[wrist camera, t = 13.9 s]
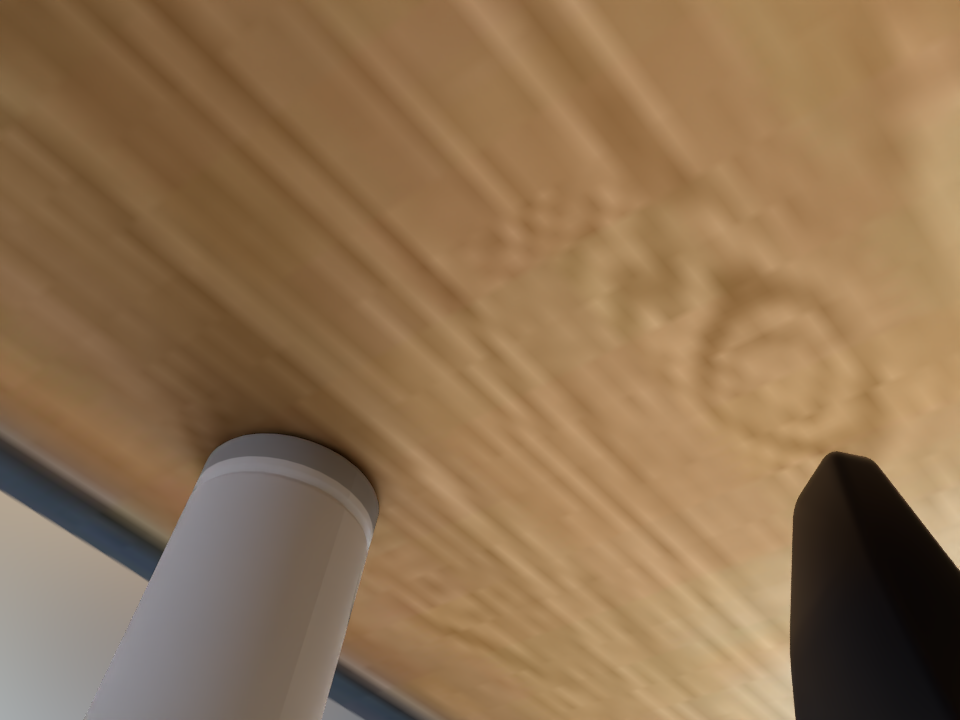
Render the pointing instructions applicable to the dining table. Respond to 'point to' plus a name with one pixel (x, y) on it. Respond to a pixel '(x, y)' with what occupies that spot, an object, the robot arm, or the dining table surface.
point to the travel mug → (248, 590)
